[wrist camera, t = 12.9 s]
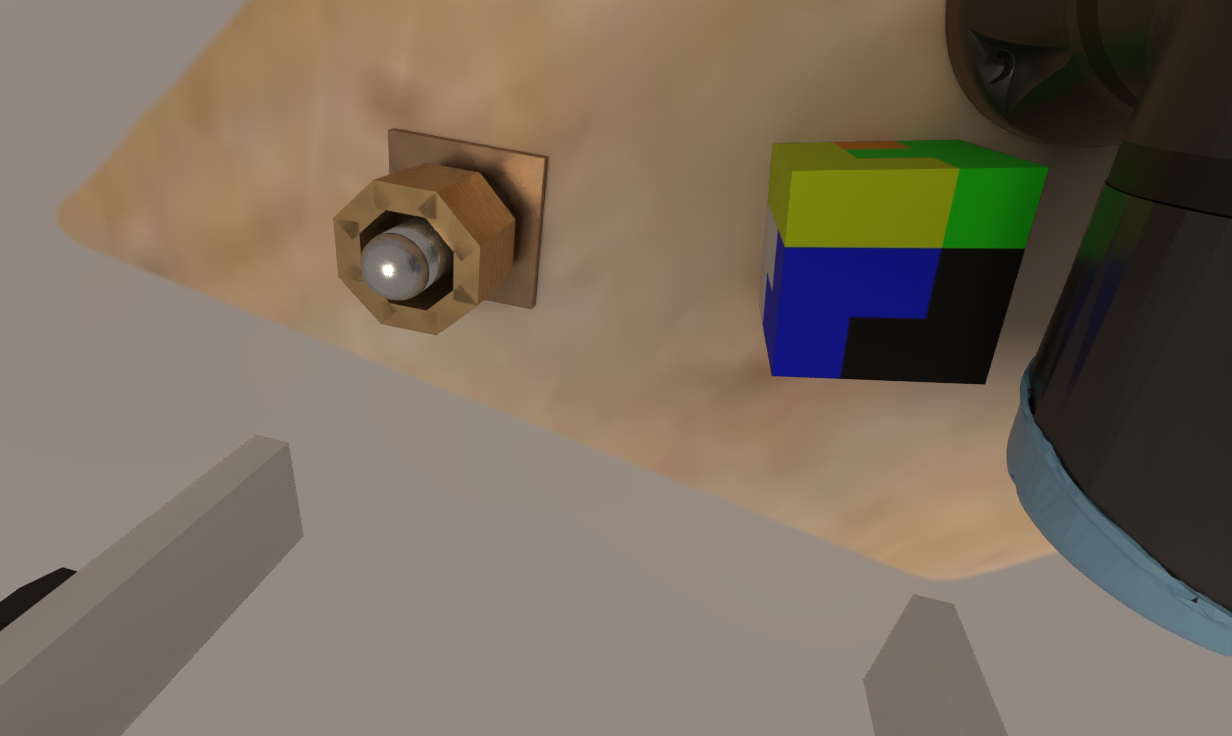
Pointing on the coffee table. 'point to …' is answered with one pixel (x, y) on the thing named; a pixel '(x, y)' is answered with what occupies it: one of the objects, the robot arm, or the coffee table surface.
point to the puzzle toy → (892, 257)
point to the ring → (458, 216)
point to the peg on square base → (420, 253)
